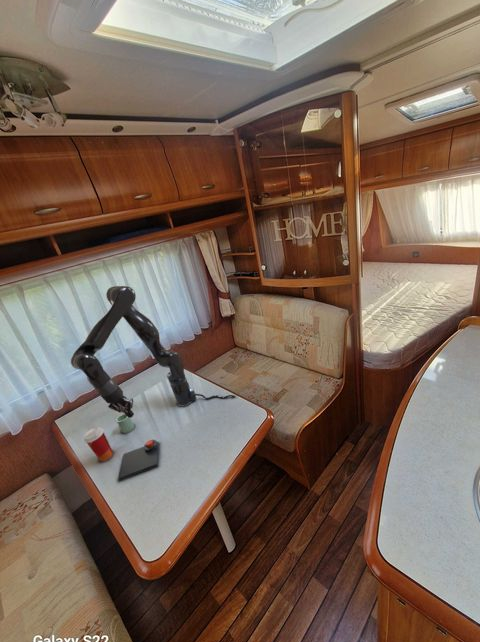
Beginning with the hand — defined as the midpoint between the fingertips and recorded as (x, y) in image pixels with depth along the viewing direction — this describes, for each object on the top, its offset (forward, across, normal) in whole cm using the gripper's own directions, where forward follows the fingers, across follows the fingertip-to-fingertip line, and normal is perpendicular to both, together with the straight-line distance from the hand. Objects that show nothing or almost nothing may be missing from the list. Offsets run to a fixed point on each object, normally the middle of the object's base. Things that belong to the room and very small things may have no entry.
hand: (131, 416), depth 125 cm
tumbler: (+17, -19, +8) cm, 27 cm away
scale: (+16, +2, -12) cm, 21 cm away
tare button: (+15, +4, -6) cm, 16 cm away
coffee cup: (+14, -19, -10) cm, 26 cm away
